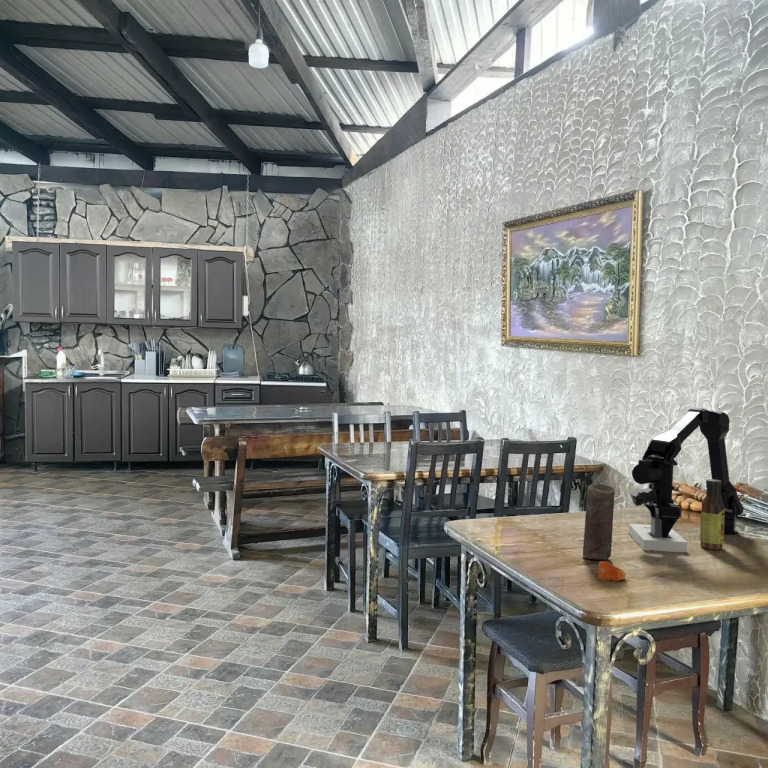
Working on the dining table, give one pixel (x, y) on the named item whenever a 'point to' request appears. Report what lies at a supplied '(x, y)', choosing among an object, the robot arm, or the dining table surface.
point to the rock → (610, 572)
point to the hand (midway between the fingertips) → (659, 533)
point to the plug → (656, 528)
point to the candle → (598, 522)
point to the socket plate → (657, 539)
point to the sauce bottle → (712, 517)
